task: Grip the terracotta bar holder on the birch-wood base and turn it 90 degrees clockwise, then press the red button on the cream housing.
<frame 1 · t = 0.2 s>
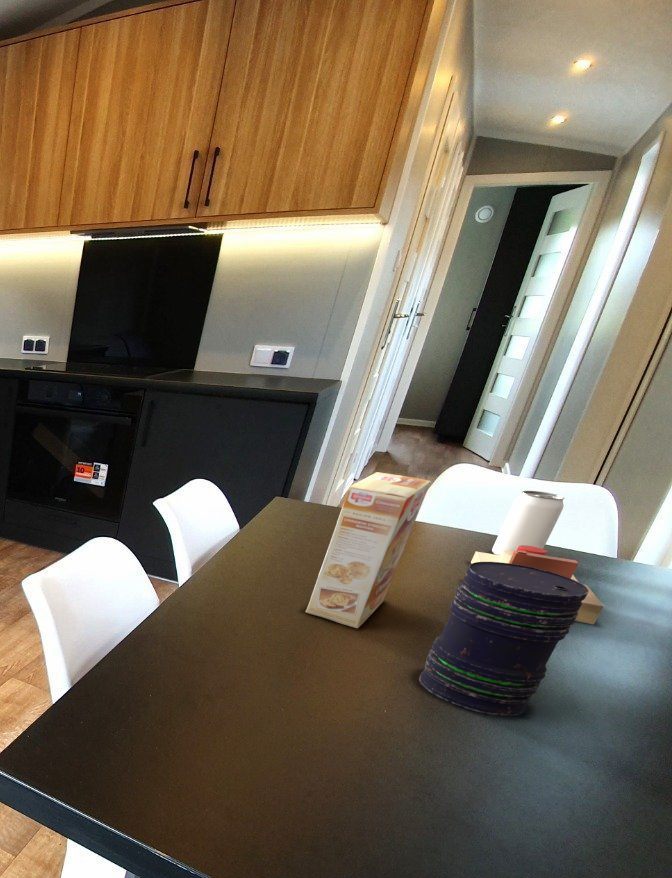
button box: (518, 577, 110), on the table
holder: (539, 569, 98), point 5 cm above the table, hinge at 0.0°
holder base: (523, 601, 101), on the table
dark blue barrel: (469, 693, 76), on the table
can: (513, 557, 120), on the table
button: (530, 553, 108), point 4 cm above the table, slide at 0.1 cm
coffeecake box: (344, 608, 97), on the table
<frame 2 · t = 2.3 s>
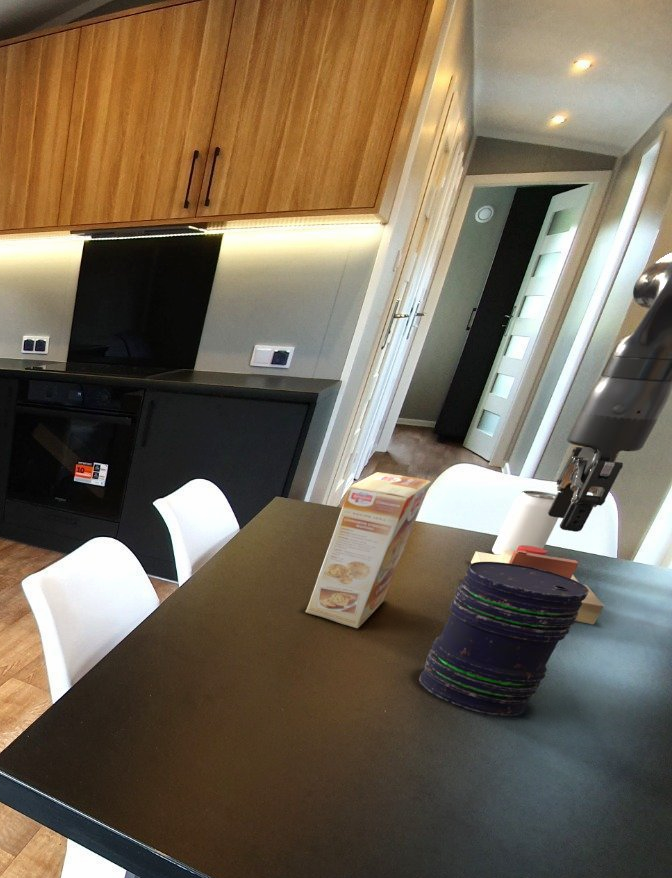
hand: (562, 523, 95), 13 cm above the table, tool pointing down, fingers open, 8 cm apart
nothing on the table moved.
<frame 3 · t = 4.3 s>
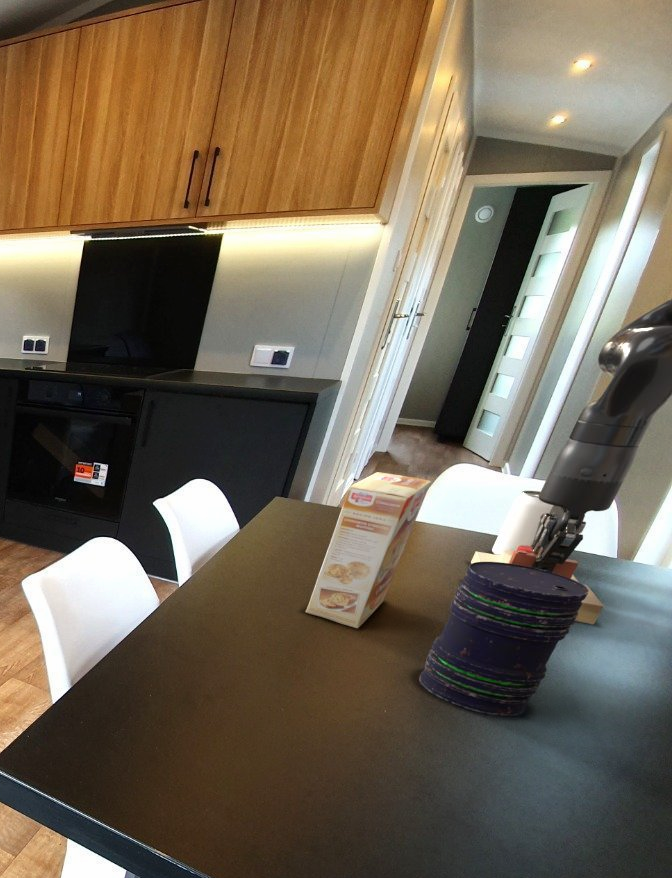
hand: (533, 582, 99), 3 cm above the table, tool pointing down, fingers closed on holder
holder: (539, 569, 98), point 5 cm above the table, hinge at 0.0°, touching gripper
everything else where it was.
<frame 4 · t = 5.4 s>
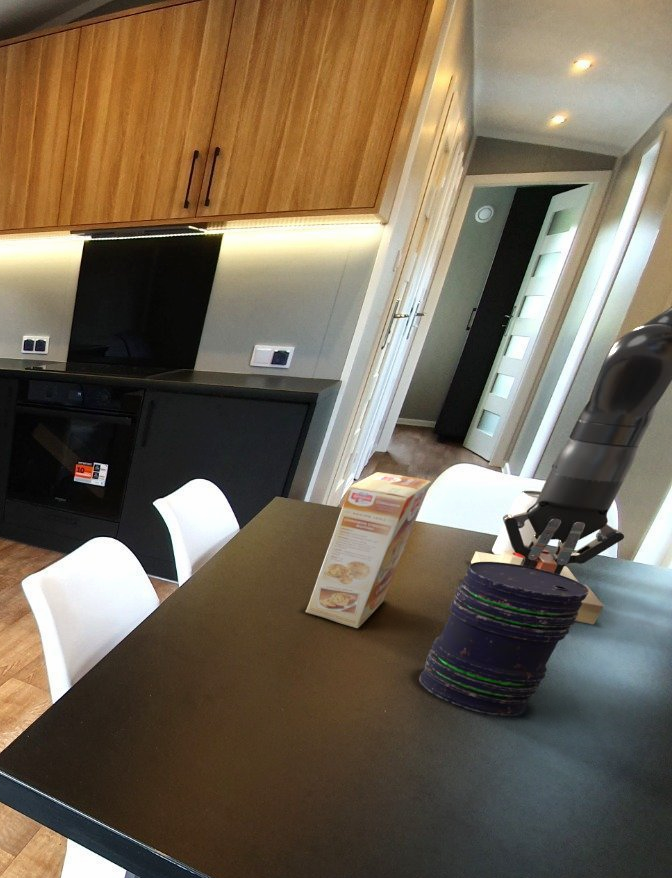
hand: (533, 582, 99), 3 cm above the table, tool pointing down, fingers closed on holder, 2 cm apart
holder: (539, 569, 98), point 5 cm above the table, hinge at -89.6°, touching gripper
everything else where it was.
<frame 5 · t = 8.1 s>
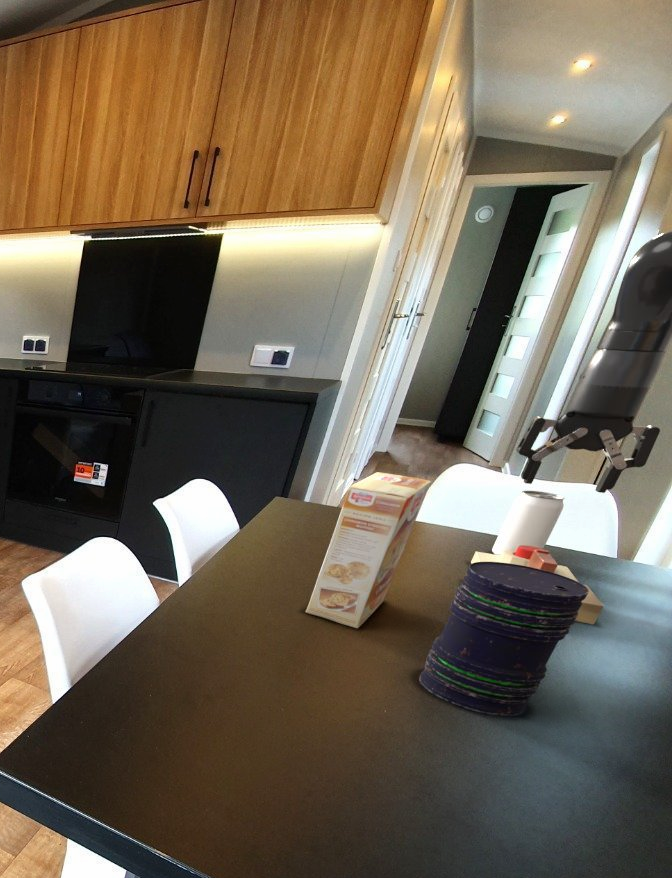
hand: (562, 487, 103), 16 cm above the table, tool pointing down, fingers open, 8 cm apart
holder: (539, 569, 98), point 5 cm above the table, hinge at -89.6°
everything else where it was.
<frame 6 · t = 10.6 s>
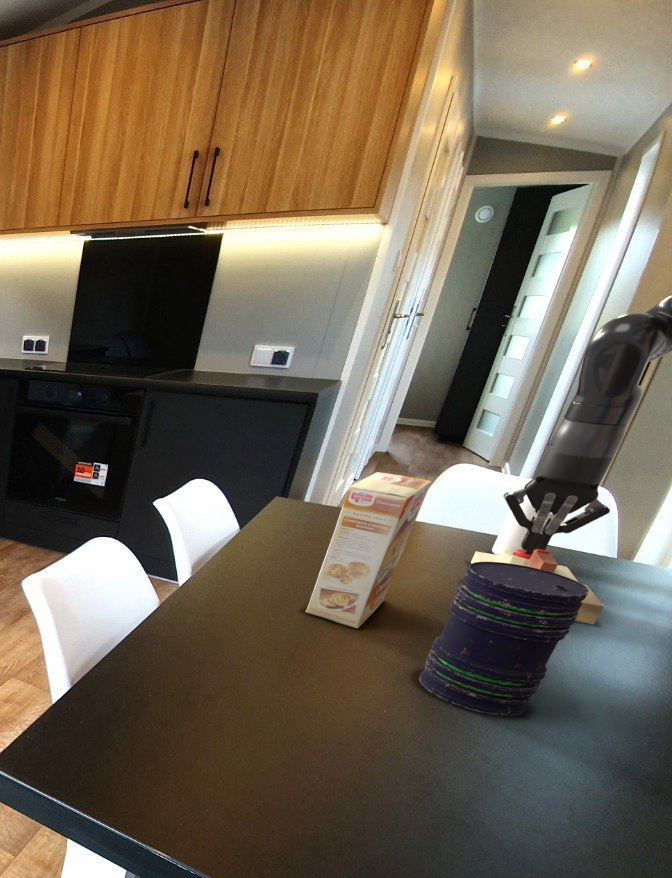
hand: (530, 552, 108), 5 cm above the table, tool pointing down, fingers closed
button: (528, 557, 108), point 4 cm above the table, slide at -0.6 cm, touching gripper
everything else where it was.
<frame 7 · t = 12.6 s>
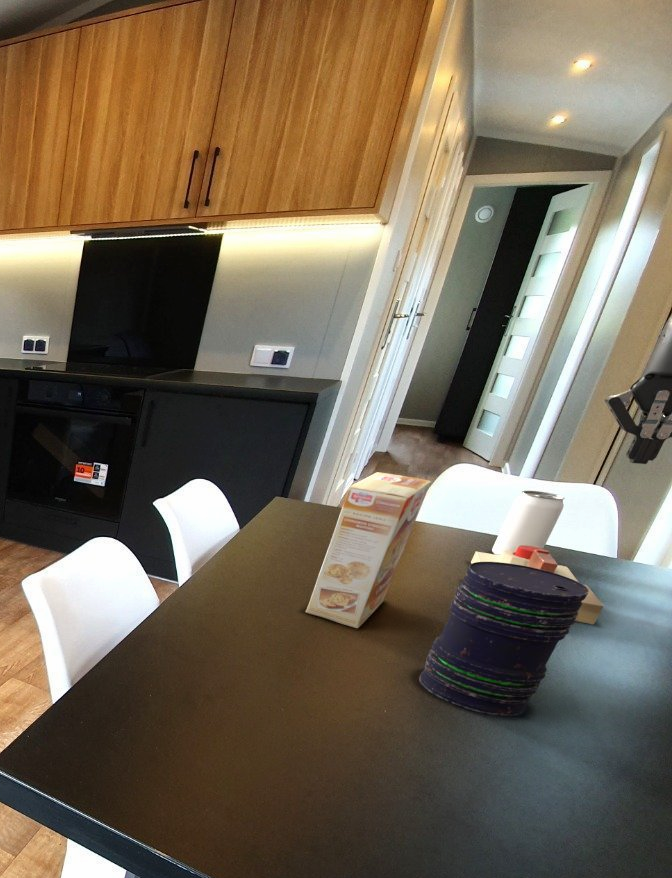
hand: (637, 462, 96), 21 cm above the table, tool pointing down, fingers closed
button: (530, 553, 108), point 4 cm above the table, slide at 0.1 cm
everything else where it was.
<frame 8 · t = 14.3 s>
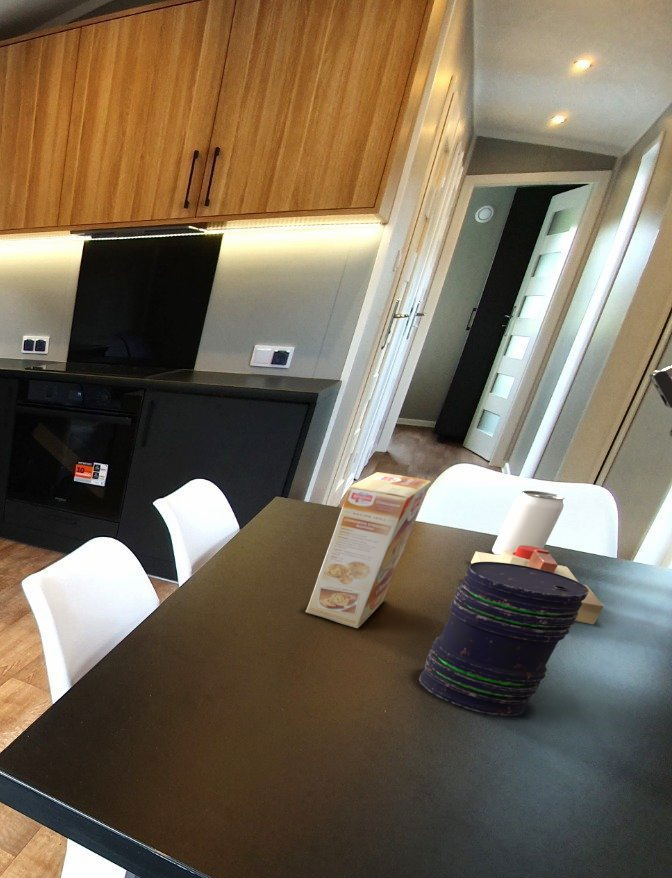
nothing on the table moved.
at the end: holder at -90° (first picture: +0°); button pushed in 1.1 cm at the most during the clip, back to where it started at the end; button slide at 0.1 cm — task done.
